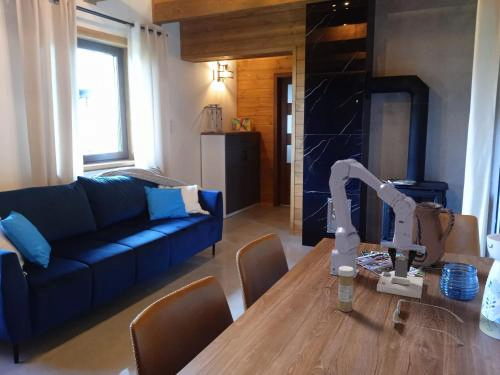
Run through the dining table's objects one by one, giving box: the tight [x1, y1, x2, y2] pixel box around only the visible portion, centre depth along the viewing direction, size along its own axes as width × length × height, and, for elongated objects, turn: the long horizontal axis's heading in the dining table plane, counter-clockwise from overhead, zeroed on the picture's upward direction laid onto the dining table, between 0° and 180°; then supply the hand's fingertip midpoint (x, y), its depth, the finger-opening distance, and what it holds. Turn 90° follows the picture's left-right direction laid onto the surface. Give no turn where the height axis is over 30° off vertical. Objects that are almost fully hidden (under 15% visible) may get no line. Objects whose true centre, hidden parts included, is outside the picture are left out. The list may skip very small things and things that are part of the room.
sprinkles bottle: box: [337, 266, 354, 313], centre depth 122 cm, size 5×5×13 cm
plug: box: [394, 255, 409, 278], centre depth 137 cm, size 4×4×7 cm
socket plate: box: [376, 271, 424, 299], centre depth 139 cm, size 14×14×3 cm
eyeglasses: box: [392, 299, 465, 346], centre depth 112 cm, size 15×18×4 cm
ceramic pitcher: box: [399, 201, 456, 267], centre depth 160 cm, size 18×21×25 cm
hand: (401, 269), depth 138 cm, fingers closed on plug, 4 cm apart
